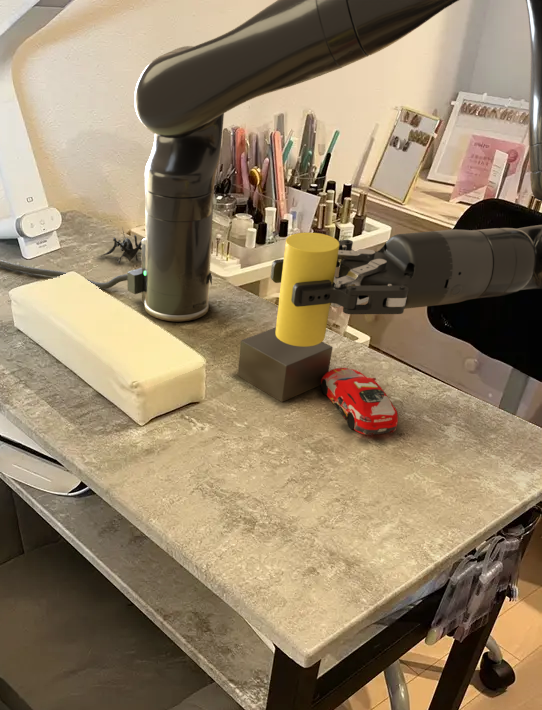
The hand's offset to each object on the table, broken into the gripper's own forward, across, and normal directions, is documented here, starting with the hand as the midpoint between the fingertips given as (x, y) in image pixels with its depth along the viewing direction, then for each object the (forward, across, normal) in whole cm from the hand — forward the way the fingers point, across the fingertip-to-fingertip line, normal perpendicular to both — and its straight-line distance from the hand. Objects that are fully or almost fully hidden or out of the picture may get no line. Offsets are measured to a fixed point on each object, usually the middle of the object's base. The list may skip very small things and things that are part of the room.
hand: (283, 283), depth 77 cm
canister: (-3, 0, +6) cm, 7 cm away
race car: (-12, -2, +18) cm, 22 cm away
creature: (+5, -54, +18) cm, 57 cm away
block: (-6, -11, +18) cm, 22 cm away
